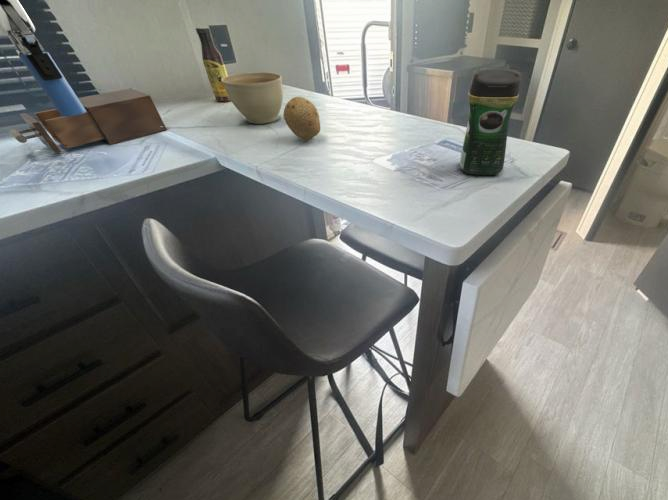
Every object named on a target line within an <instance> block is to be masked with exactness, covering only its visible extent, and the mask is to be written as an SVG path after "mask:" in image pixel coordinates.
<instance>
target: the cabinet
mask: <svg viewBox="0 0 668 500" xmlns="http://www.w3.org/2000/svg"><path fill="white" fill-rule="evenodd" d="M78 99H79V100H80V102H81V104H82V105H83V107H84V108H85V109H86V110H88V111H89V113H90V114H91V116H92V117H93V119H94V120H95V122H96V123H97V125H98V127H99V128H100V130H101V131H102V133H103V134H104V136H105V138H106V139H102V140H101V141H104V142H106V143H107V144H109V145H114V144H117V143H123V142H125V141H129V140H134V139H137V138H141V137H144V136H149V135H152V134H156V133H160V132H164V131H167V127H166V124H165V123H164V121H163V119H162V117H161V115H160V113H159V111H158V109H157V107H156V105H155V103H154V101H153V99H152V97H151V94H148V93H144V92H142V91H139V90H136V89H133V88H126V89H119V90H114V91H109V92H104V93H98V94H94V95H93V94H92V95H87V96H82V97H78ZM160 126H163V127H160Z"/></svg>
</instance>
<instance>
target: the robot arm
mask: <svg viewBox="0 0 668 500" xmlns="http://www.w3.org/2000/svg"><path fill="white" fill-rule="evenodd" d="M35 32H36V27H35V25H34V23H33V22H32V19H31V18H30V17H29V15H28V14H27V12H26V10H25V9H24V7H23V6H22V4H21V3H20V1H19V0H0V34H1V35H2V36H3V35H4V36H7V37H8V38H9V40H10V41H11V44H13V46H14V47H15V49H16V50H17V52H18V55H19V54H22V52H21V50H20V49H19V47H18V46H17V44H20V45H21V47H22V48H23V49H24V51H25V52H26V53H27V55H26V57H27V58H28V59H29V61H30V62H31V64H32V65H33V67H34V68H35V70H36V71H37V72H38V74H39V75H40V77H41V78H42V79H43V80H45V81H47V80H54V79H60V78H62V75H61V74H60V72H59V71H58V69H57V68H56V66H55V65H54V63H53V61H52V60H51V58H50V57H49V55H48V54H47V53H46V52H47V51H46V50H45V48H44V47H43V45H42V44H41V43H40V41H39V39H37V37H36V36H35V35H34V34H35Z"/></svg>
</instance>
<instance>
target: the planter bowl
mask: <svg viewBox="0 0 668 500" xmlns="http://www.w3.org/2000/svg"><path fill="white" fill-rule="evenodd" d="M221 81H222V83H223V85H224V87H225V89H226V92H227V94H228V96H229V98H230V100H231V101H230V102H231V103H232V105H233V106H234V107H235V108H236V109H237V111H238V112H239V113H240V114H241V115H242V116H244V117H245V120H246V121H247V122H248V123H250V124H257V125H259V124H260V125H261V124H269V123H270V124H272V123H273V122H276V121H278V120H279V119H280V111H281V109H282V105H283V101H284V88H283V83H282V82H283V78H282V74H279V73H275V72H265V71H255V72H242V73H234V74H230V75H228V76H227V77H224V78H222V80H221Z"/></svg>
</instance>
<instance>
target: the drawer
mask: <svg viewBox="0 0 668 500" xmlns="http://www.w3.org/2000/svg"><path fill="white" fill-rule="evenodd" d="M85 110H86V109H85ZM33 114H34V115H35V116H36V118H37V119H38V120H39V121H38V120H37V119H35V118H34V117H32V116H31V115H30V114H28V113H26V112H23V113H19V115H20V117H21V118H22V119H23V120H24V122H25V123H26V124H27V126H28V127H29V128H24V129H20V130H16V129H14V128H11V129H9V130H8V133H9V135H11V137H12V138H14V139H15V140H16V141H18V142H19V143H21V144H26V143H27V141H28V140H30V139H35V138H38V140H39V141H40V142H41V143H42V144H43V145H44V146H45V147H47V148H48V149H49V150H50V151H52V152H53V153H54V154H55V155H56V154H61V153H62V150H61V149H60V148H59V146H58V145H57V144H56V143H58V144H59V145H60V146H62V147H64V149H71V148H75V147H78V146H82V145H86V144H90V143H94V142H98V141H103V140H102V139H106V138H105V136H104V134H103V133H102V131H101V130H100V128H99V127H98V125H97V123H96V122H95V120H94V119H93V117H92V116H91V114H90V113H89V111H88V110H86V112H85V113H83V114H80V115H76V116H67V117H66V116H61V115H60V113H59V112H58V111H57V109H56V108H52V109H47V110H42V111H38V112H33ZM31 132H33V133H32V134H28V135H23V134H27V133H31Z"/></svg>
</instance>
